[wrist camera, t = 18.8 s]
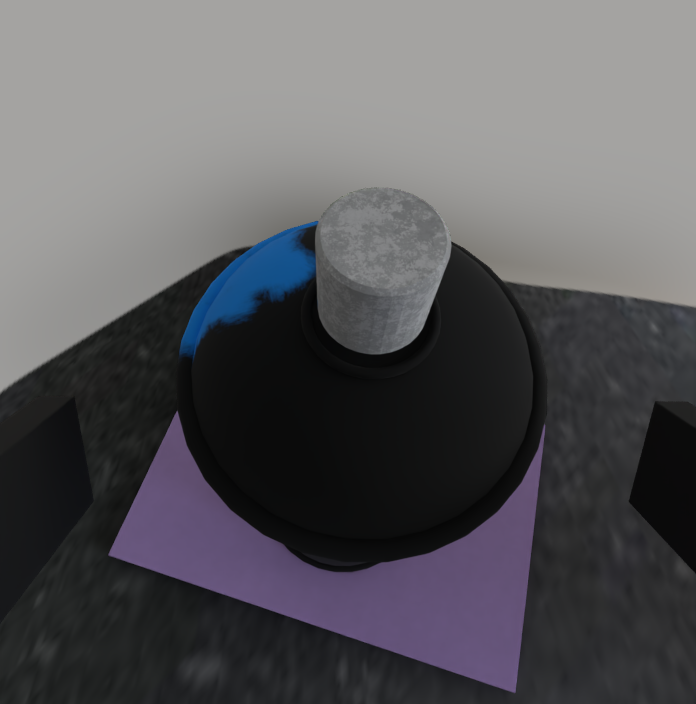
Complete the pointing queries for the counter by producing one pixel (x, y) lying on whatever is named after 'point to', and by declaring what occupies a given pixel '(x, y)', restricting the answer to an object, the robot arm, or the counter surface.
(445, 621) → the towel
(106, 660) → the counter surface
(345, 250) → the aerosol can
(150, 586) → the counter surface
